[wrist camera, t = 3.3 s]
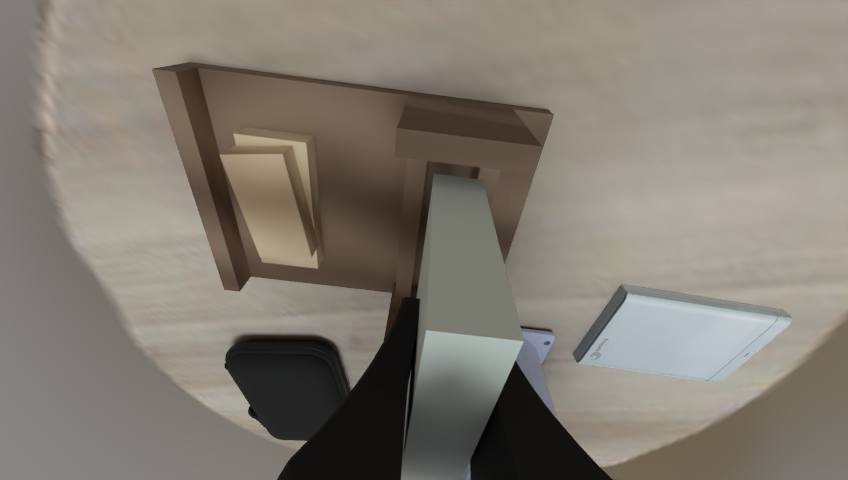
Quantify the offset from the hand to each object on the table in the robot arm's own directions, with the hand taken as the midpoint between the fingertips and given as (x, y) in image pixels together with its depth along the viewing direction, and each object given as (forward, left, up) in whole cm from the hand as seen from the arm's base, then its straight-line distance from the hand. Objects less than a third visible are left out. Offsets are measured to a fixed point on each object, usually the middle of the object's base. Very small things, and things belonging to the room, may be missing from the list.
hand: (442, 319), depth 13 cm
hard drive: (-8, -19, -10) cm, 23 cm away
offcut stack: (0, +9, -8) cm, 12 cm away
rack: (0, +5, -9) cm, 10 cm away
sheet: (0, 0, -4) cm, 4 cm away
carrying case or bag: (-21, +11, -9) cm, 26 cm away
